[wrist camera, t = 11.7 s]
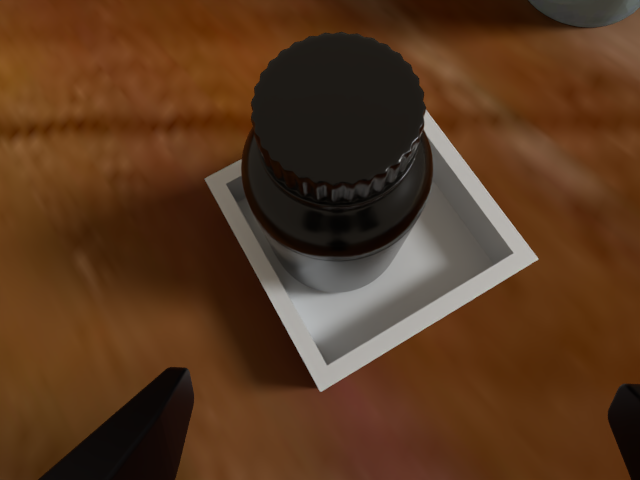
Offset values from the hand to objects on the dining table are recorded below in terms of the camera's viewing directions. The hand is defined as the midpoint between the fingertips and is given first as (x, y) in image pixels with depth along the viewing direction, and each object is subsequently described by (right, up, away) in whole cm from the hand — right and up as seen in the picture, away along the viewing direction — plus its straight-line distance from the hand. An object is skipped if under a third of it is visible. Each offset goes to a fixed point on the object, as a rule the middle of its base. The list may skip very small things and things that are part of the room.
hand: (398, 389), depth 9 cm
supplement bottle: (-1, +3, +14) cm, 15 cm away
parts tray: (+1, +3, +15) cm, 15 cm away
